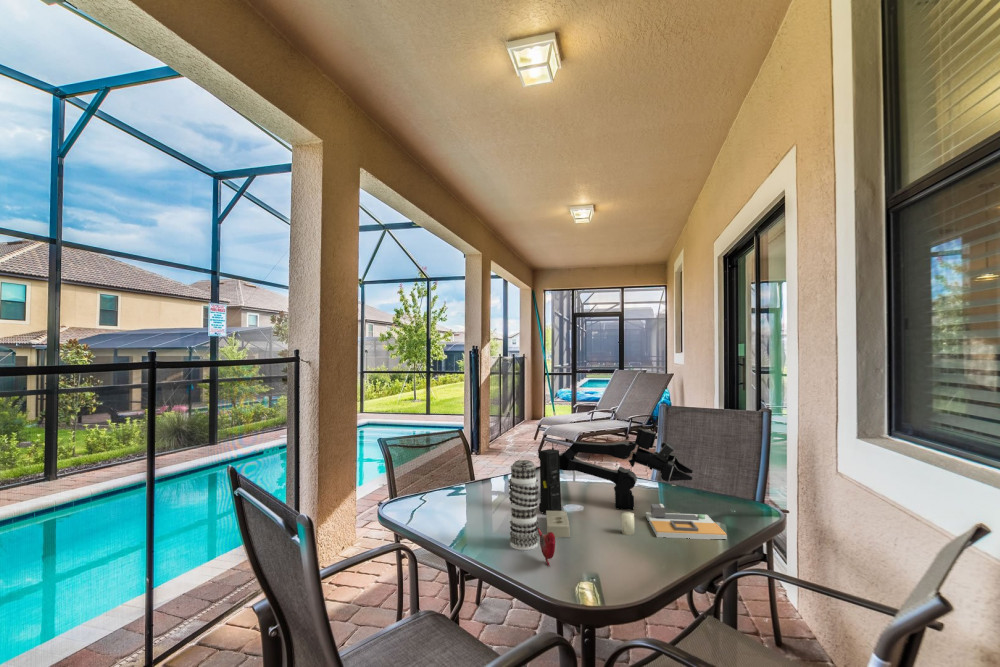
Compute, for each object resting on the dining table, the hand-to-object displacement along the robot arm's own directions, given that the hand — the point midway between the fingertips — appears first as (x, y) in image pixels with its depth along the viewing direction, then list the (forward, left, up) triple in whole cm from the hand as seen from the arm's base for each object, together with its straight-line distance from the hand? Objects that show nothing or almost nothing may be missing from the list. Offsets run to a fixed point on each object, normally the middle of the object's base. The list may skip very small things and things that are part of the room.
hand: (692, 475), depth 168 cm
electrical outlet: (-49, -19, -15) cm, 54 cm away
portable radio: (-52, -3, -15) cm, 54 cm away
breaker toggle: (-14, -8, -12) cm, 20 cm away
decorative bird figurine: (-52, -46, -15) cm, 71 cm away
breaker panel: (-7, -14, -14) cm, 21 cm away
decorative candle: (-59, -35, -15) cm, 70 cm away
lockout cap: (-26, -21, -14) cm, 36 cm away
